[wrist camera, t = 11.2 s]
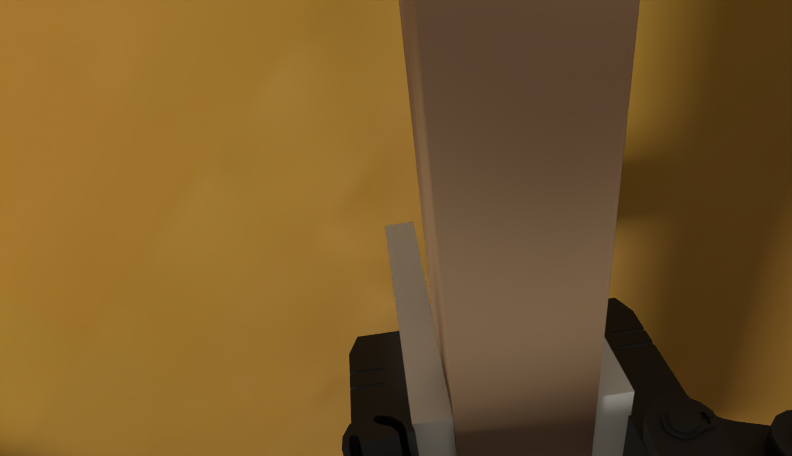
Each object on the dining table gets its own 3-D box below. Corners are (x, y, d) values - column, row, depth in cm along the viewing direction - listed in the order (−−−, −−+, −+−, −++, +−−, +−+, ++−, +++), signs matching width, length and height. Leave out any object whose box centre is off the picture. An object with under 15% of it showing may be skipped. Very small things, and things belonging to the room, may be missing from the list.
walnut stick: (540, 613, 20) (565, 704, 18) (466, 624, 20) (482, 717, 18) (581, -422, 7) (696, -545, 4) (356, -393, 7) (367, -502, 4)
